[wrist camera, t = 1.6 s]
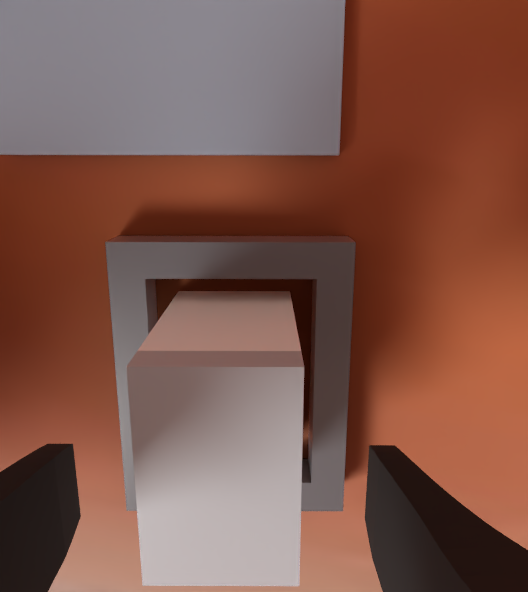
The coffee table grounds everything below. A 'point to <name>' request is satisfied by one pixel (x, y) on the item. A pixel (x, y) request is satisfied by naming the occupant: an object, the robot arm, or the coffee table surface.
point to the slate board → (171, 77)
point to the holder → (247, 265)
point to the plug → (219, 441)
